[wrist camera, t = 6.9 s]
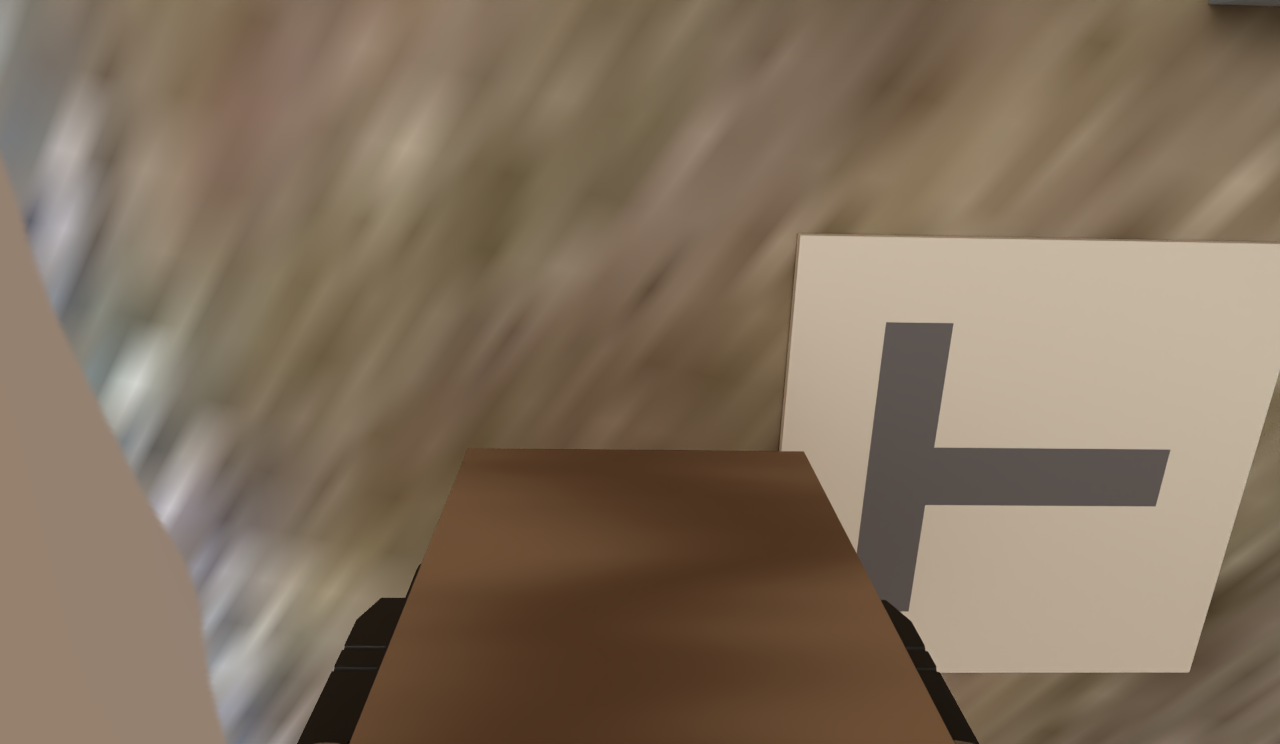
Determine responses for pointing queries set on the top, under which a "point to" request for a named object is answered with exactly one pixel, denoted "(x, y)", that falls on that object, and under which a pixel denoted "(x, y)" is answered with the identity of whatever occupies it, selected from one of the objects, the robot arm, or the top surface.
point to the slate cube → (1246, 2)
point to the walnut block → (644, 611)
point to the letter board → (1035, 433)
